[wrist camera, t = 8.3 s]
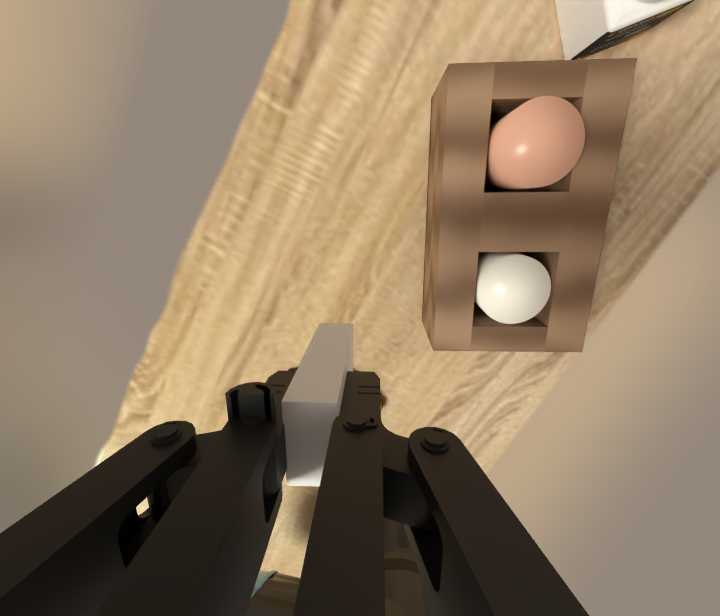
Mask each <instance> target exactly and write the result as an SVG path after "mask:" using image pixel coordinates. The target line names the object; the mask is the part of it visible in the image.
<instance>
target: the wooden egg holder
mask: <svg viewBox="0 0 720 616" xmlns="http://www.w3.org/2000/svg"><path fill="white" fill-rule="evenodd" d="M636 61H637V58H625V59H591V60H557V61H523V62H489V63H455V64H449V65H448V67H447V69H446V70H445V72H444V74H443V76H442V78H441V80H440V82H439V84H438V86H437V88H436V90H435V92H434V94H433V96H432V99H431V122H430V146H429V169H428V192H427V216H426V239H425V262H424V285H423V309H422V322H423V325H424V327H425V330H426V333H427V335H428V338H429V340H430V343H431V346H432V348H433V351H517V352H582V350H583V345H584V340H585V334H586V329H587V324H588V318H589V313H590V308H591V302H592V297H593V291H594V286H595V281H596V275H597V270H598V265H599V259H600V254H601V249H602V243H603V238H604V232H605V227H606V222H607V216H608V211H609V206H610V200H611V195H612V190H613V184H614V179H615V174H616V168H617V163H618V157H619V152H620V147H621V141H622V136H623V131H624V125H625V120H626V115H627V109H628V104H629V98H630V93H631V88H632V82H633V77H634V72H635V66H636ZM540 96H556V97H560V98H562V99H565V100H567V101H568V102H570V103H571V104H572V105H573V106H574V107H575V108H576V109H577V110H578V112H579V113H580V115H581V117H582V120H583V123H584V128H585V142H584V147H583V150H582V153H581V155H580V158H579V160H578V161H577V163H576V165H575V166H574V167H573V168H572V170H571V171H570V172H569V173H568V174H567V175H566V176H564V177H563V178H562V179H560V180H559V181H557V182H555V183H553V184H551V185H548V186H544V187H536V188H527V189H517V190H507V191H495V190H491V189H489V188H487V187H485V186H484V185H485V173H486V161H487V150H488V138H489V127H490V126H491V125H493V124H494V123H496V122H497V121H499V120H500V119H502V118H503V117H504V116H506V115H507V114H509V113H510V112H512V111H513V110H515V109H516V108H518V107H519V106H520V105H522V104H523V103H525V102H527V101H529V100H531V99H533V98H536V97H540ZM479 252H516V253H519V254H522V255H525V256H528V257H531V258H533V259H535V260H537V261H538V262H540V263H541V264H542V265H543V266H544V267H545V268H546V270H547V272H548V274H549V276H550V281H551V291H550V296H549V298H548V301H547V303H546V304H545V306H544V307H543V309H542V310H541V311H540V312H539V313H538V314H537V315H535V316H534V317H533V318H531V319H529V320H527V321H524V322H521V323H516V324H505V323H501V322H498V321H496V320H494V319H492V318H491V317H489V316H488V315H487V314H486V313H485V312H484V311H483V310H482V309H481V308H480V307H479V306H478V305H477V304H476V303H475V302H474V300H475V288H476V277H477V265H478V254H479Z"/></svg>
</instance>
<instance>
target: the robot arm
mask: <svg viewBox="0 0 720 616" xmlns="http://www.w3.org/2000/svg"><path fill="white" fill-rule="evenodd" d="M225 394H226V403H227V411H228V422H227V423H226V425H225V426H224V428H223V429H222V430H220V431H216V432H210V433H204V434H198V435H196V431H195V427H194V426H193V424H192V423H189V422H187V421H172V422H171V421H169V422H165V423H163V424H160V425H157V426H155V427H153V428H151V429H149V430H148V431H146V432H144V433H143V434H142V435H140V436H139V437H137V438H136V439H134V440H133V441H132V442H130V443H129V444H127V445H126V446H124V447H123V448H122V449H120V450H119V451H117V452H116V453H114V454H113V455H112V456H110V457H109V458H107V459H106V460H104V461H103V462H102V463H100V464H99V465H97V466H96V467H94V468H93V469H92V470H90V471H89V472H87V473H86V474H84V475H83V476H82V477H80V478H79V479H77V480H76V481H74V482H73V483H72V484H70V485H69V486H67V487H66V488H64V489H63V490H62V491H60V492H59V493H57V494H56V495H54V496H53V497H52V498H50V499H49V500H47V501H46V502H44V503H43V504H42V505H40V506H39V507H37V508H36V509H35V510H33V511H32V512H31V513H29V514H27V515H26V516H24V517H23V518H22V519H20V520H19V521H17V522H16V523H15V524H13V525H12V526H10V527H9V528H7V529H6V530H5V531H3V532H2V533H0V616H589V615H588V614H587V612H586V611H585V609H584V608H583V607H582V605H581V604H580V603H579V601H578V600H577V599H576V597H575V596H574V594H573V593H572V592H571V591H570V589H569V588H568V586H567V585H566V584H565V582H564V581H563V580H562V578H561V577H560V575H559V574H558V573H557V572H556V570H555V569H554V567H553V566H552V564H551V563H550V562H549V561H548V559H547V558H546V556H545V555H544V554H543V552H542V551H541V549H540V548H539V547H538V545H537V544H536V543H535V541H534V540H533V539H532V537H531V536H530V534H529V533H528V532H527V530H526V529H525V528H524V526H523V525H522V524H521V522H520V521H519V520H518V518H517V517H516V515H515V514H514V513H513V511H512V510H511V509H510V507H509V506H508V504H507V503H506V502H505V500H504V499H503V498H502V496H501V495H500V494H499V492H498V491H497V489H496V488H495V487H494V485H493V484H492V483H491V481H490V480H489V479H488V477H487V476H486V474H485V473H484V472H483V470H482V469H481V468H480V466H479V465H478V464H477V462H476V461H475V459H474V458H473V457H472V455H471V454H470V453H469V451H468V450H467V449H466V447H465V446H464V444H463V443H462V442H461V440H460V439H459V438H458V437H457V436H455V435H454V434H453V433H451V432H449V431H447V430H445V429H441V428H437V427H424V428H420V429H417V430H415V431H414V432H413V433H411V435H410V437H409V438H406V437H402V436H399V435H396V434H394V433H392V432H390V431H389V430H387V429H386V428H385V427H384V425H383V424H382V422H381V407H380V378H379V377H378V376H377V375H376V374H375V372H357V371H353V324H337V323H320V324H319V326H318V328H317V330H316V332H315V334H314V336H313V338H312V340H311V342H310V344H309V346H308V348H307V350H306V352H305V354H304V356H303V358H302V360H301V362H300V364H299V367H298V369H297V371H278V372H276V373H275V374H273V375H271V376H270V377H269V378H268V380H267V381H266V383H261V382H252V383H245V384H241V385H238V386H236V387H234V388H231V389H230V390H229V391H228V392H226V393H225ZM285 472H286V479H287V485H293V486H319V491H318V496H317V501H316V506H315V511H314V516H313V520H312V525H311V530H310V535H309V540H308V545H307V549H306V554H305V559H304V564H303V569H302V573H301V578H297V577H293V576H289V575H284V574H280V573H278V572H277V571H275V570H273V571H270V572H268V571H260V568H261V565H262V561H263V558H264V555H265V552H266V549H267V546H268V543H269V539H270V536H271V533H272V530H273V527H274V524H275V521H276V517H277V514H278V511H279V508H280V505H281V502H282V481H283V478H284V475H285ZM146 497H147V499H148V504H149V508H148V509H147V510H146V511H145V512H143V513H142V514H140V515H139V516H138V514H137V510H136V507H137V506H138V505H139V504H140V503H141V502H142V501H143V500H144V499H145V498H146Z"/></svg>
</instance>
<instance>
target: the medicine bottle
mask: <svg viewBox="0 0 720 616" xmlns="http://www.w3.org/2000/svg"><path fill="white" fill-rule="evenodd" d="M554 1H555V7H556V13H557V18H558V24H559V30H560V36H561V42H562V47H563V53H564V59H565V60H579V59H582V58H584V57H587V56H589V55H592V54H594V53H597V52H599V51H602V50H604V49H607V48H609V47H612V46H615V45H617V44H620V43H622V42H625V41H627V40H630V39H632V38H635V37H637V36H639V35H641V34H643V33H644V32H646V31H647V30H649V29H650V28H652V27H654V26H655V25H657V24H658V23H660V22H661V21H663V20H664V19H666V18H668V17H669V16H671V15H672V14H674V13H675V12H677V11H678V10H680V9H682V8H683V7H685V6H686V5H688V4H689V3H691V2H692V1H694V0H554Z"/></svg>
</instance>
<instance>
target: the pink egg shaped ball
mask: <svg viewBox="0 0 720 616" xmlns="http://www.w3.org/2000/svg"><path fill="white" fill-rule="evenodd" d="M584 142H585V128H584V123H583V120H582V117H581V115H580V113H579V112H578V110H577V109H576V108H575V107H574V106H573V105H572V104H571V103H570V102H568V101H567V100H565V99H562V98H560V97H556V96H540V97H536V98H533V99H531V100H529V101H527V102H525V103H523V104H522V105H520V106H519V107H518V108H516V109H515V110H513V111H512V112H510V113H509V114H507V115H506V116H504V117H503V118H502V119H500V120H499V121H497V122H496V123H494V124H493V125H491V126H490V127H489V138H488V150H487V161H486V173H485V185H484V186H485V187H487V188H489V189H491V190H495V191H507V190H517V189H527V188H536V187H544V186H548V185H551V184H553V183H555V182H557V181H559V180H560V179H562V178H563V177H564V176H566V175H567V174H568V173H569V172H570V171H571V170H572V168H573V167H574V166H575V165H576V163H577V161H578V160H579V158H580V155H581V153H582V150H583V147H584Z"/></svg>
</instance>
